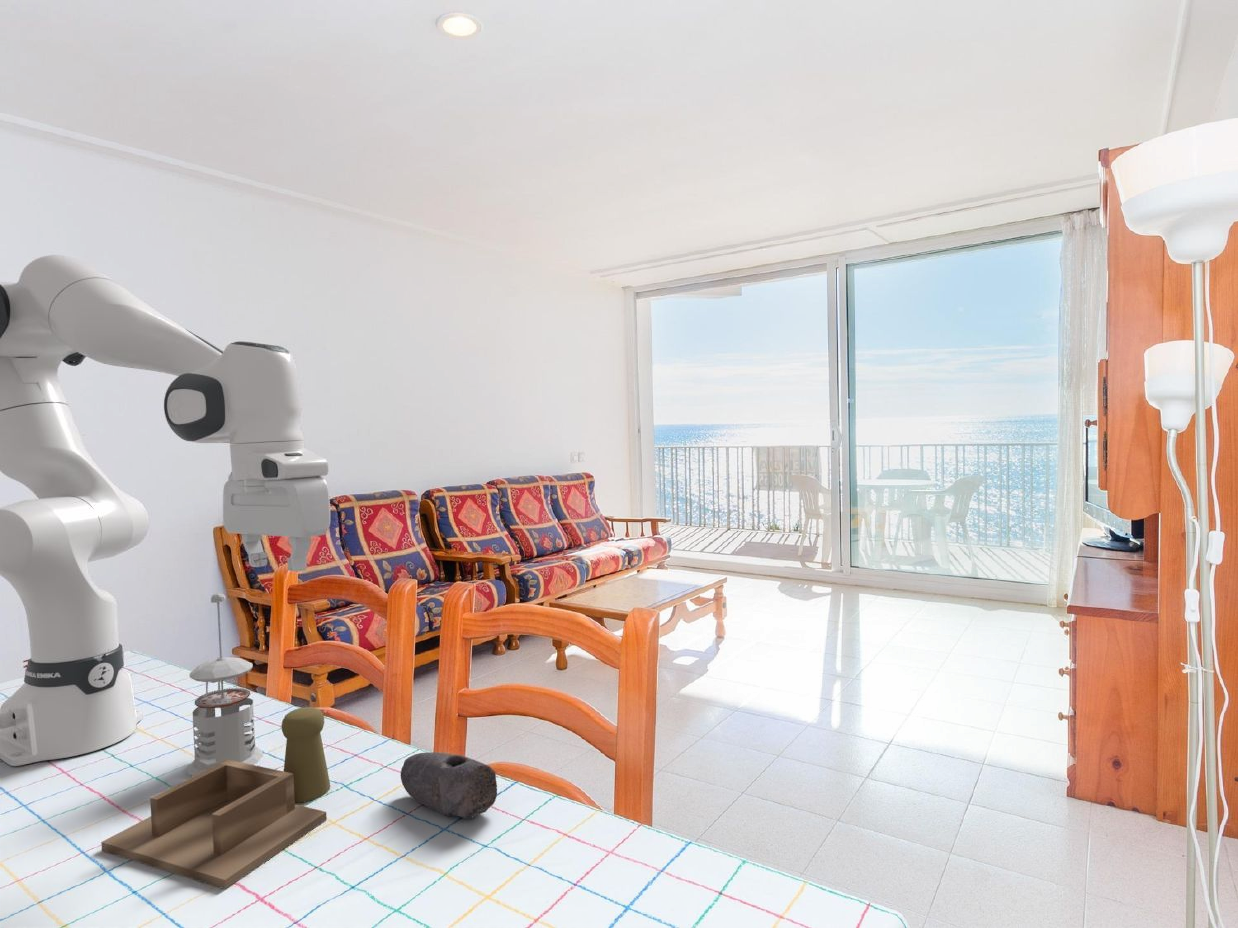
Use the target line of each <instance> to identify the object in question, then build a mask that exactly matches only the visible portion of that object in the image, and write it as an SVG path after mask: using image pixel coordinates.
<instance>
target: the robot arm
mask: <svg viewBox="0 0 1238 928" xmlns="http://www.w3.org/2000/svg"><path fill="white" fill-rule="evenodd" d="M85 358H88V359H91V360H93V361H95V362H98V363H101V364H104V365H107V366H108V365H109V366H115V367H122V368H129V369H137V370H144V371H151V372H157V373H162V374H163V373H165V374H167V375H172V376H176V378H174V380H173V381H172V382H171V383H170V384H169V386H168V387H167V388H166V391H165V396H164V399H163V411H164V417H165V420H166V423H167V424H168V426H169V428H170V430H172V431H173V433H174V434H175V436H178V437H179V438H180V439H182V440H183V441H186V442H192V443H198V444H229V451H230V454H229V455H230V463H231V472H230V474H229V475H228V479H227V481H226V482H225V483H224V486H223V491H222V492H223V493H222V520H223V522H222V523H223V527H224V529H225V531H226V533H229V534H239V535H240V534H241V542H242V544H243V547H244V549H245V551H246V553H247V555H248V564H249V567H252V568H261V567H266V566H267V565H268V553H267V552H266V551H264V549H263V545H262V541H261V540H263V536H271V537H285V538H289V539H288V540H289V545H290V546H291V551H290V552H291V553H290V557H287V558H286V560H287V561H286V563H287V570H288V571H289V572H296V573H298V572H303V571H305V570H306V569H307V568H308V564H307V556H308V554H309V550H310V548H311V544H312V540H311V539H312V538H313V537H318V536H325V535H327V533H328V531H329V528H330V526H331V501H330V491H329V486H328V483H327V481H326V479H325V478H324V477H325V476H327V475H328V474H329V462H328V461H327V459H326V458H324V457H323V456H320V455H318V454H316V453H314V452H312V451H311V450H309V449H307V448H305V447H306V446H305V445H306V444H305V437H304V434H303V432H302V428H301V425H300V420H301V419H300V418H301V415H302V407H303V405H302V393H301V387H300V386H301V385H300V378H299V374H298V373H299V372H298V369H297V365H296V362H295V359H294V357H293V355H292V353H291V351H290V350H288V349H286V348H285V347H283V346H280V345H275V344H274V345H273V344H266V343H259V342H253V341H252V342H251V341H242V340H241V341H234V342H231V343H229V344H227V345H226V347H225V348H224V350H222V349H220V348H218V347H217V346H216V345H214V344H212V343H210V342H209V341H207V340H206V339H204V338H202V337H200V336H198V335H197V334H195V333H193V332H192V331H190V330H188V329H187V328H184V327H183V326H181V325H180V324H179V323H177V322H176V321H174V320H172V319H171V318H169V317H167V316H165V315H164V314H162V313H161V312H159V311H158V310H156V309H154V308H153V307H152V306H150V305H149V304H147V303H146V302H145V301H143V300H142V299H140V298H139V297H137V296H136V295H134V294H133V293H132V292H130V291H129V290H128V289H126V288H125V287H124V286H122V285H121V284H119V283H118V282H116V281H115V280H114V279H113V278H111V277H110V276H108V275H106V274H104V273H103V272H101V271H99V270H98V269H96V268H94V267H92V266H91V265H88V264H86V263H84V262H82V261H79V260H77V259H76V258H72V257H70V256H65V255H60V254H59V255H58V254H51V255H49V254H48V255H44V256H40V257H38V258H35V259H34V260H32V261H31V262H29V263H28V264H27V265H26V266H25V267H24V268H23V270H22V271H21V273H20V276H19V279H18V281H17V282H10V281H9V282H7V281H0V473H2V474H3V475H5V476H6V477H7V478H9V479H12V480H14V481H16V482H18V483H20V484H22V485H24V486H25V487H26V488H27V489H29V490H30V491H31V492H32V493H33V494H34V495H35V496H36V498H35V499H27V500H21V501H17V502H15V503H11V504H7V505H5V506H2V507H0V576H1V577H3V579H5V580H7V582H8V583H9V584H10V585H11V586H12V588H13V589H14V590H15V591H16V593H17V595H18V596H19V598H20V600H21V602H22V605H23V607H24V610H25V614H26V619H27V628H28V637H29V646H30V658H29V659H24V660H23V661H22V663H27V664H26V665H23V667H22V668H23V669H24V668H25V669H24V679H23V682H24V683H23V684H22V685H21V686H20V687H19V688H18V689H17V690H16V691H15V692H14V693H13V694H12V695H11V696H9V697H8V699H6V700H5V701H4V702H3V703H2V704H1V705H0V760H2V761H3V762H5V763H7V765H9V766H10V767H11V766H12V767H18V766H24V765H27V764H32V763H38V762H42V761H48V760H49V761H50V760H59V759H64V758H70V757H76V756H79V755H80V756H81V755H83V754H88V753H91V752H95V751H98V750H101V749H104V748H106V747H109V746H111V745H114V744H117V743H118V742H120V741H123V740H124V739H126V738H128V737H129V736H131V735H132V734H133V733H134V732H135V731H136V729H137V724H138V722H140V721H141V720H142V719H143V718H144V716H143V712H142V711H140V710H137V709H136V704H135V698H134V691H133V685H132V680H131V678H132V677H131V675H130V674H129V673H128V672H127V671H125V670H123V667H124V665H125V664H124V663H125V661H124V658H125V655H124V653H125V652H124V651H123V650H124V649H123V645H122V644H121V643H120V640H119V639H120V637H119V635H120V634H119V620H118V604H117V600H116V598H115V597H114V595H113V594H112V593H110V592H108V591H107V590H105V589H103V588H99V587H97V585H96V584H95V583H94V580H93V579H92V578H91V577H92V576H91V575H90V572H89V569H88V563H90V562H94V561H99V560H103V559H104V560H105V559H108V558H109V559H110V558H113V557H115V556H118V555H120V554H122V553H124V552H126V551H129V550H130V549H132V548H134V547H137V545H140V543H142V542H143V541H144V539H145V537H146V536H147V534H148V532H149V527H150V520H149V514H148V511H147V509H146V508H145V506H144V505H143V503H142V502H141V501H140V500H138V499H137V498H136V497H134V496H132V495H130V494H128V493H126V492H124V491H123V490H122V489H120V488H119V487H117V485H116V484H114V483H113V482H112V481H111V480H110V479H109V477H108V476H107V475H106V474H105V472H104V471H102V470H101V469H100V467H99V466H98V465H97V464H96V462H95V460H94V459H93V457H92V456H91V455H90V453H89V451H88V450H87V448H86V445H85V443H84V442H83V439H82V436H81V434H80V432H79V429H78V426H77V424H76V422H75V420H74V419H75V418H74V416H73V414H72V411H71V409H70V407H69V403H68V401H67V398H66V397H65V394H64V392H63V389H62V387H61V385H60V381H59V378H58V377H59V376H58V370H59V367H60V365H61V364H62V362H63V363H65V364H67V365H68V366H72V367H76V366H79V365H81V364H82V363H83V362H84V360H85Z"/></svg>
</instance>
